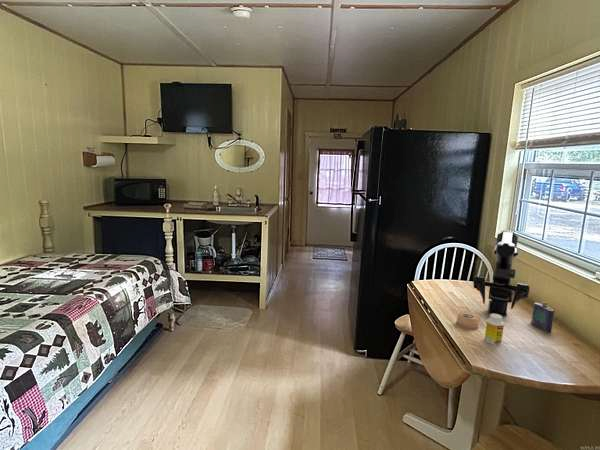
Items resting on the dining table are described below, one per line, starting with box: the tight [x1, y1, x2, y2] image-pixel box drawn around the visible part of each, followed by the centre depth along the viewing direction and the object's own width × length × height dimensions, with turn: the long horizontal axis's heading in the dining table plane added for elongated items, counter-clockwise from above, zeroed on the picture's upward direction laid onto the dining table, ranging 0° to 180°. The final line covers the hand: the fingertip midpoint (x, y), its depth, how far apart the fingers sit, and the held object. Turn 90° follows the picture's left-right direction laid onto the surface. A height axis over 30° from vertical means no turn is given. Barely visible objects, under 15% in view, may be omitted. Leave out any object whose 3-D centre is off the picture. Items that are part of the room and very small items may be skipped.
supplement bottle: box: [484, 313, 505, 346], centre depth 132 cm, size 6×6×10 cm
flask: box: [530, 301, 555, 333], centre depth 145 cm, size 9×3×11 cm, turn 8°
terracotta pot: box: [456, 311, 480, 331], centre depth 146 cm, size 8×8×4 cm
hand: (497, 306), depth 135 cm, fingers open, 9 cm apart
